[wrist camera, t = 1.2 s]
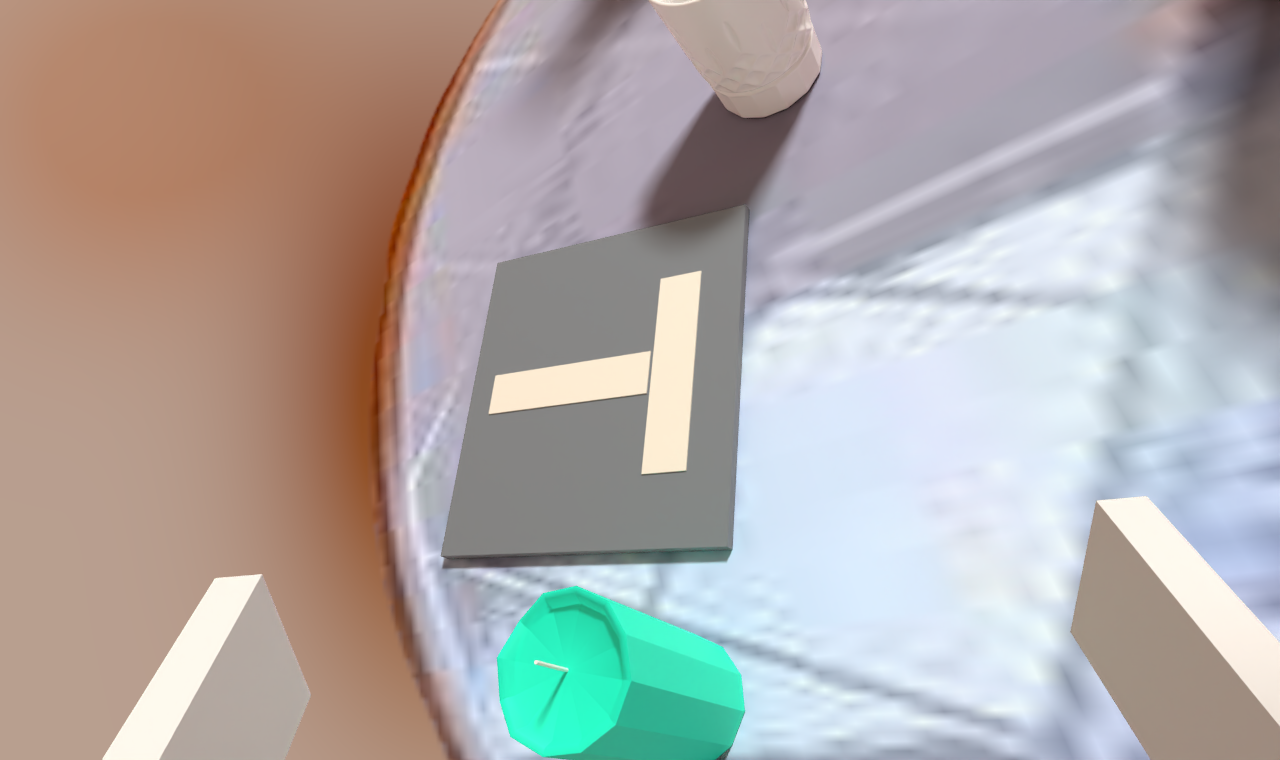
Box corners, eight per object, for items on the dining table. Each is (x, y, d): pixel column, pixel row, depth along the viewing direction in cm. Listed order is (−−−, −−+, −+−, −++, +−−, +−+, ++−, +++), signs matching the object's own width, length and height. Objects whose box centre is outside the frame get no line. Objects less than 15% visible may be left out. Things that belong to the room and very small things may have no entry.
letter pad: (503, 267, 58) (496, 262, 57) (749, 210, 49) (744, 203, 49) (447, 558, 49) (439, 555, 49) (732, 549, 41) (726, 545, 40)
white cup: (690, 102, 56) (614, -15, 48) (770, 12, 55) (707, -121, 48) (771, 145, 51) (700, 22, 43) (859, 46, 50) (804, -96, 43)
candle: (719, 613, 40) (585, 549, 31) (764, 742, 37) (629, 714, 27) (614, 663, 42) (456, 617, 32) (648, 792, 38) (482, 782, 29)
